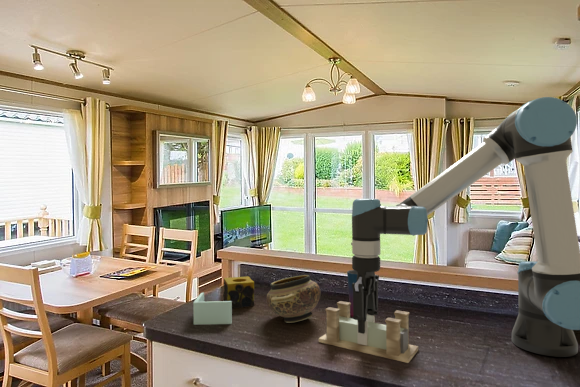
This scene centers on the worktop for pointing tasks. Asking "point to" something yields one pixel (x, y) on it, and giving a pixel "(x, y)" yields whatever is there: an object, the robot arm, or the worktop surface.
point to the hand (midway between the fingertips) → (366, 341)
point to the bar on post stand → (391, 346)
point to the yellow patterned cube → (239, 291)
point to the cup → (351, 279)
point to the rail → (369, 333)
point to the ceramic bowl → (293, 298)
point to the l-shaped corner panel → (212, 311)
